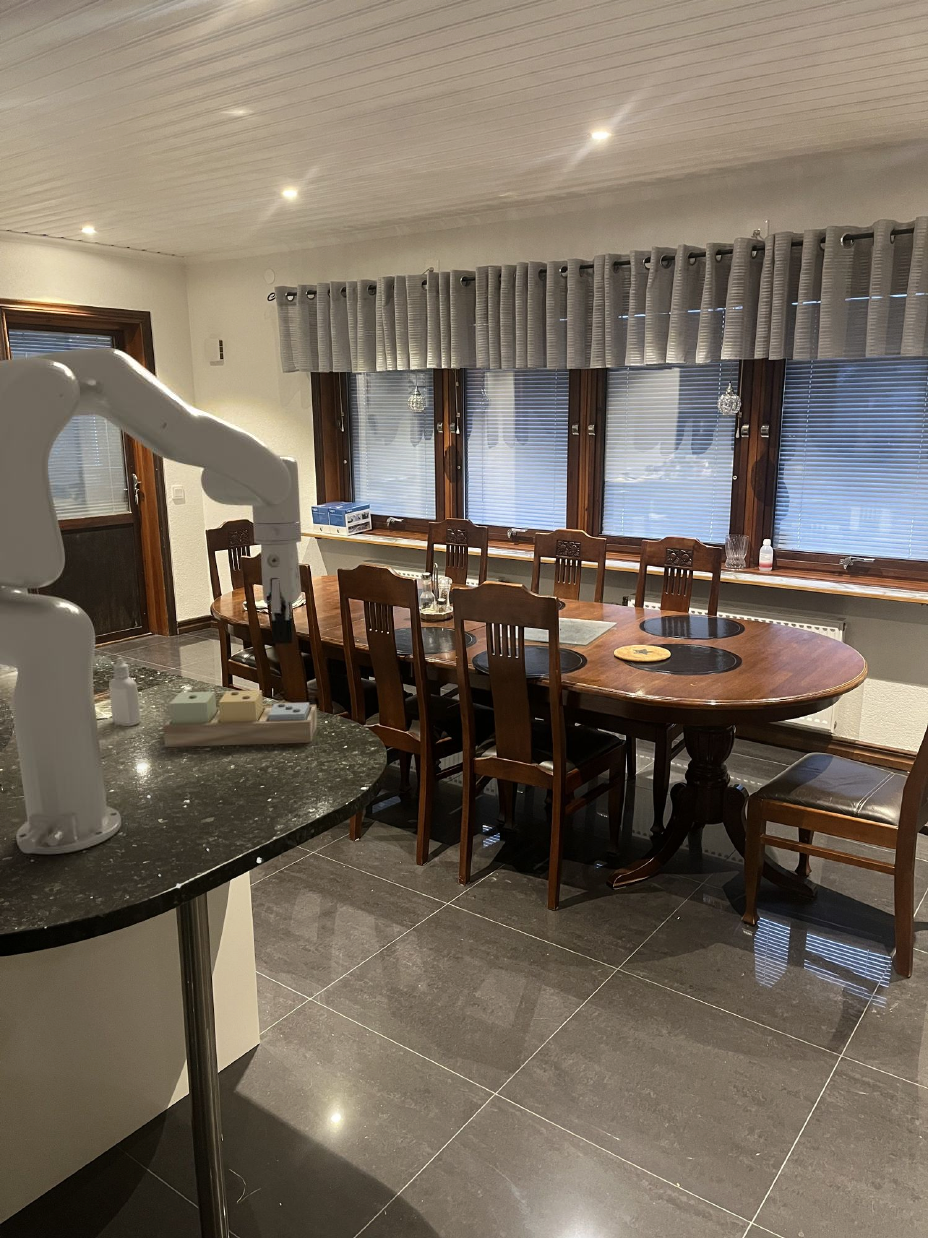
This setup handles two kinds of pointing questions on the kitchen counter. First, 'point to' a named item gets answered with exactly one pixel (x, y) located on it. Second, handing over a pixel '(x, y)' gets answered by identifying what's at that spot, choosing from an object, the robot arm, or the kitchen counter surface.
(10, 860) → the kitchen counter surface
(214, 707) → the tile one sage
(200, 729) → the tray
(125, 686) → the eye dropper bottle
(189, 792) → the kitchen counter surface
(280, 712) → the tile three blue
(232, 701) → the tile two ochre
